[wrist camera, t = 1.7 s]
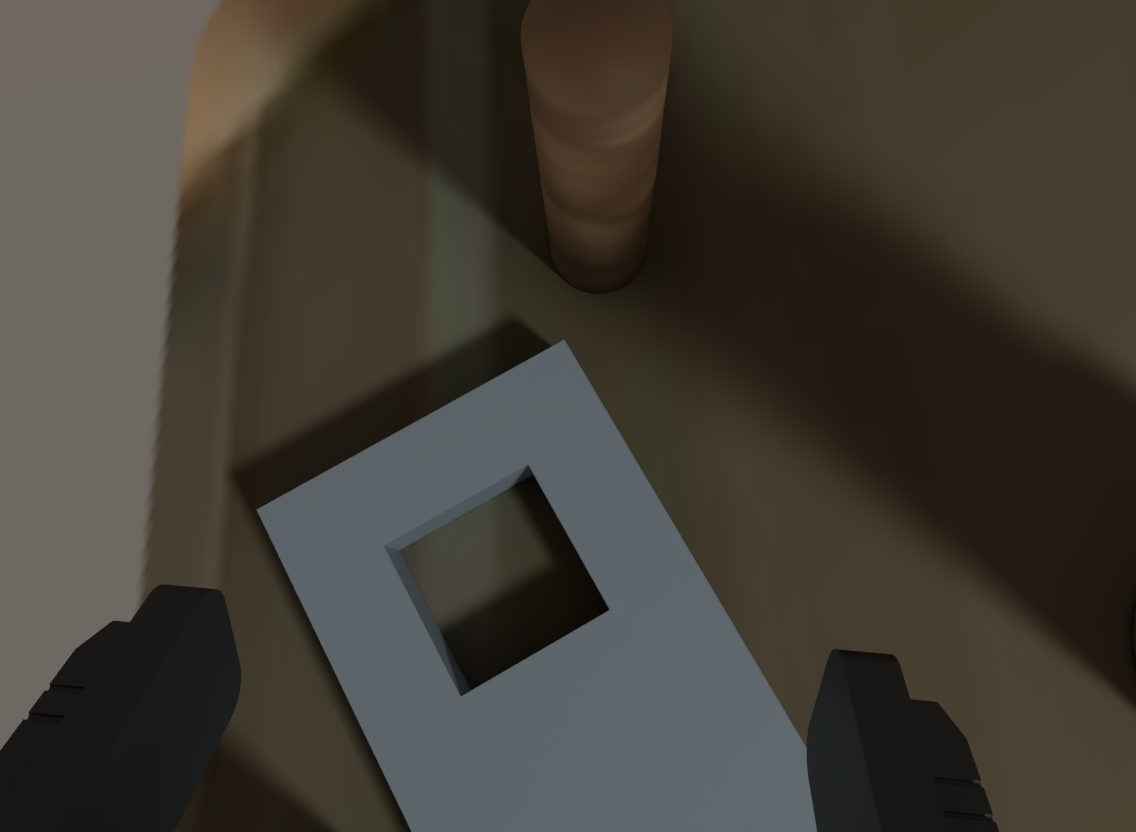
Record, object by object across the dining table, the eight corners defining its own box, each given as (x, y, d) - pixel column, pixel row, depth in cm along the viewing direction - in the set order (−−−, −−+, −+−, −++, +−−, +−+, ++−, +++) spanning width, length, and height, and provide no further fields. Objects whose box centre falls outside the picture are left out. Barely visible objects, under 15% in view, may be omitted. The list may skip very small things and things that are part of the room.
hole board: (567, 358, 36) (564, 339, 33) (840, 821, 32) (860, 838, 29) (280, 516, 35) (256, 509, 32) (524, 1016, 31) (517, 1051, 28)
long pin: (616, 188, 37) (624, -58, 24) (664, 264, 36) (701, 56, 23) (533, 232, 37) (493, 10, 23) (580, 310, 36) (567, 126, 22)
